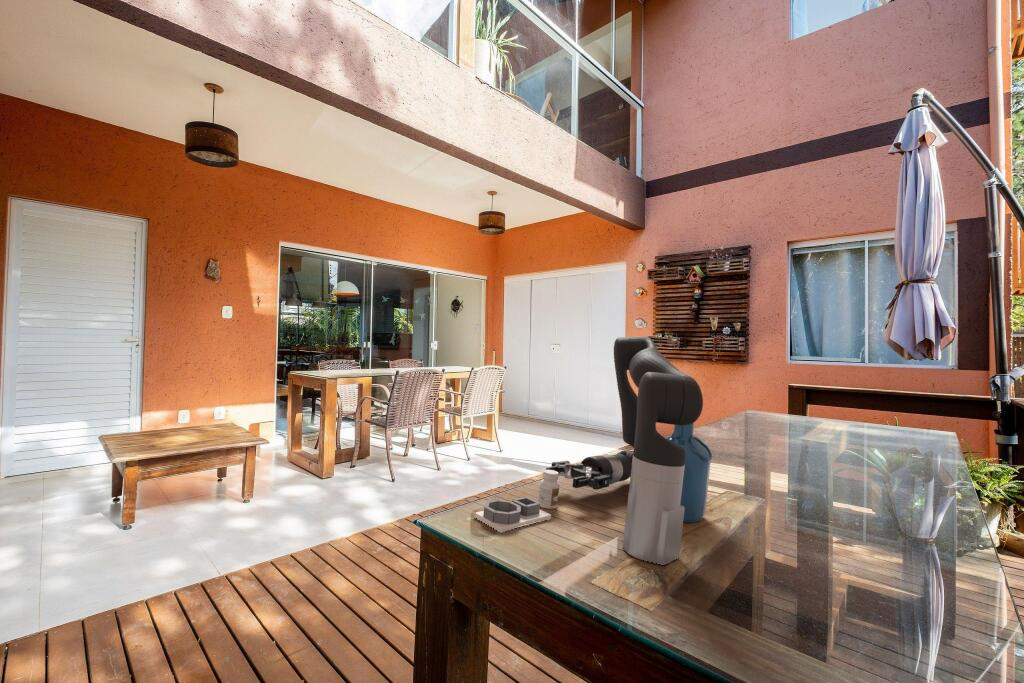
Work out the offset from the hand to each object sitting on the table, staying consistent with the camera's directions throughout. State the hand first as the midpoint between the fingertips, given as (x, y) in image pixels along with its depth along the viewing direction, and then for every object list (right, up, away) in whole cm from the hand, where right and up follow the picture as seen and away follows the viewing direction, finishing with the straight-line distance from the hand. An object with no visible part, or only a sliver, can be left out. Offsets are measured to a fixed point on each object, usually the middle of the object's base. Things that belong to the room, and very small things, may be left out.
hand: (559, 477), depth 104 cm
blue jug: (+28, -9, +2) cm, 29 cm away
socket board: (-11, -5, -12) cm, 17 cm away
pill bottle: (-3, -6, -2) cm, 7 cm away
